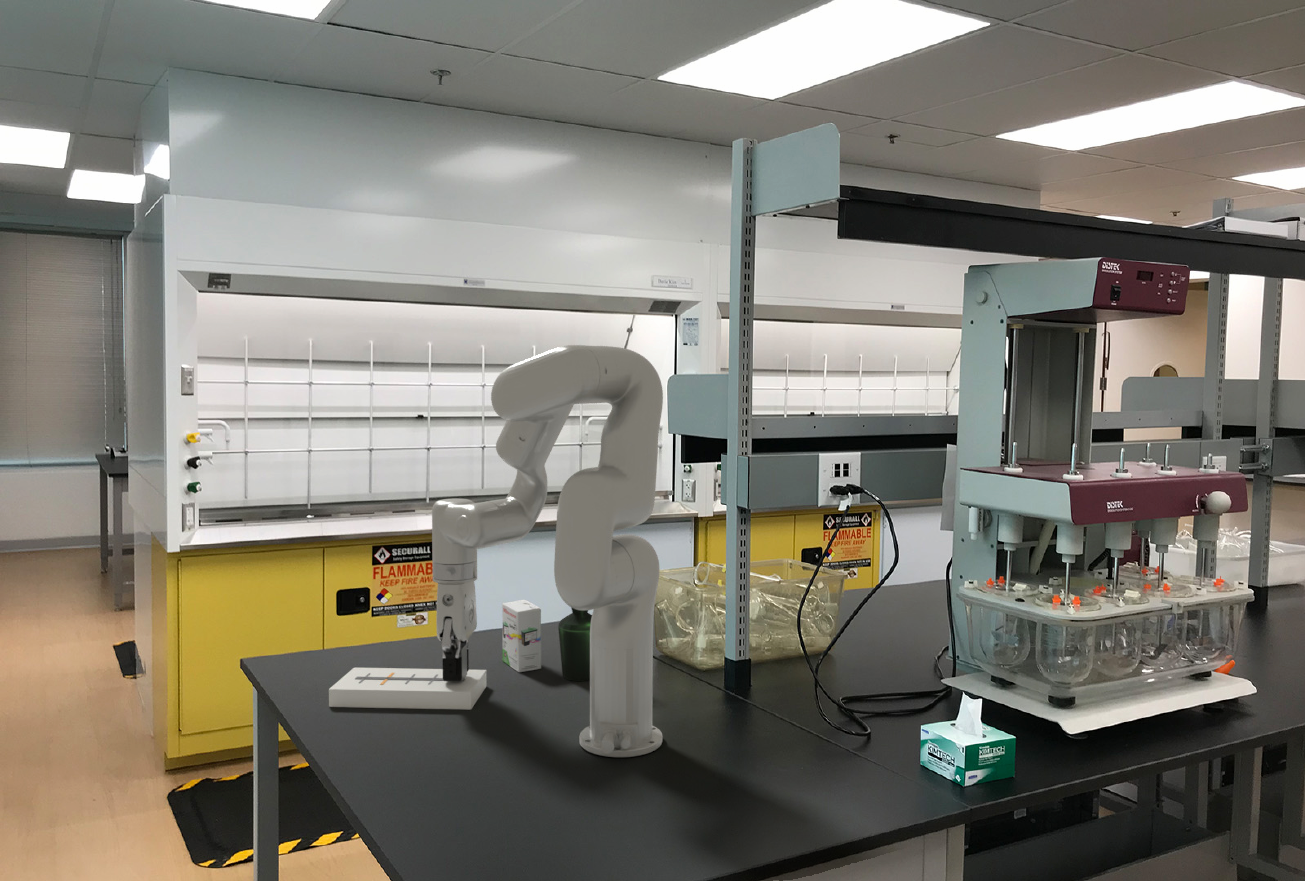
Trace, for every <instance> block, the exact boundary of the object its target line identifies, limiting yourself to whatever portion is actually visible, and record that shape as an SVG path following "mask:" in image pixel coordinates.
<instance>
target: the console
mask: <svg viewBox="0 0 1305 881" xmlns="http://www.w3.org/2000/svg"><path fill="white" fill-rule="evenodd" d="M486 688H487V669H469V670H468V672H467V675H466V677H465V678H464V679H463V681H462V682H455V681H444V680H443V668H408V667H407V668H403V667H402V668H397V667H396V668H395V667H394V668H393V667H389V668H388V667H353V668H351V670H349V671H348V672H347V673H346V674H345V675H344V676H342V677H341V678H340V679H339V680H338V681H336V682H335V683H334V684H333V685H332V686H331V687H329V689H328V707H329V708H364V709H365V708H367V709H368V708H374V709H421V710H423V709H425V710H472V709H473V707H474V705H475V704H476V703H477V701H478V700H479V699H480V697H481V696H482V694H483V692H484V691H485V689H486Z"/></svg>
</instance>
